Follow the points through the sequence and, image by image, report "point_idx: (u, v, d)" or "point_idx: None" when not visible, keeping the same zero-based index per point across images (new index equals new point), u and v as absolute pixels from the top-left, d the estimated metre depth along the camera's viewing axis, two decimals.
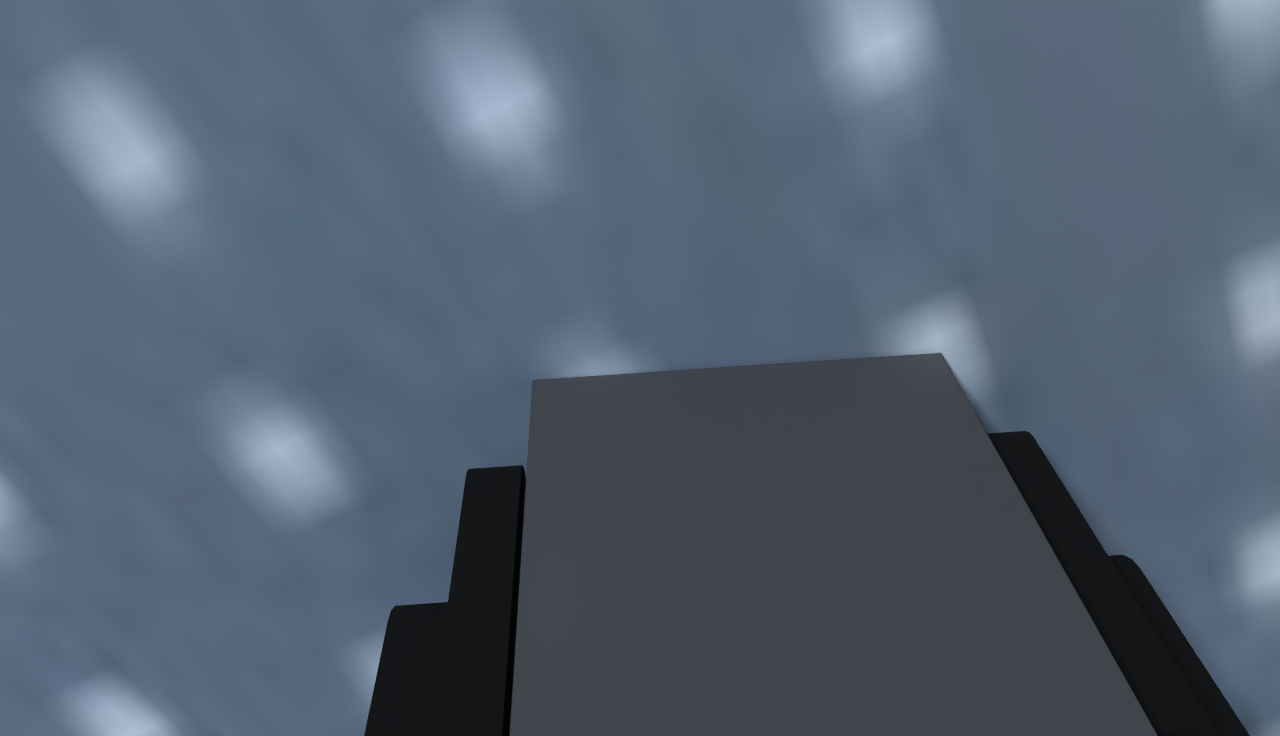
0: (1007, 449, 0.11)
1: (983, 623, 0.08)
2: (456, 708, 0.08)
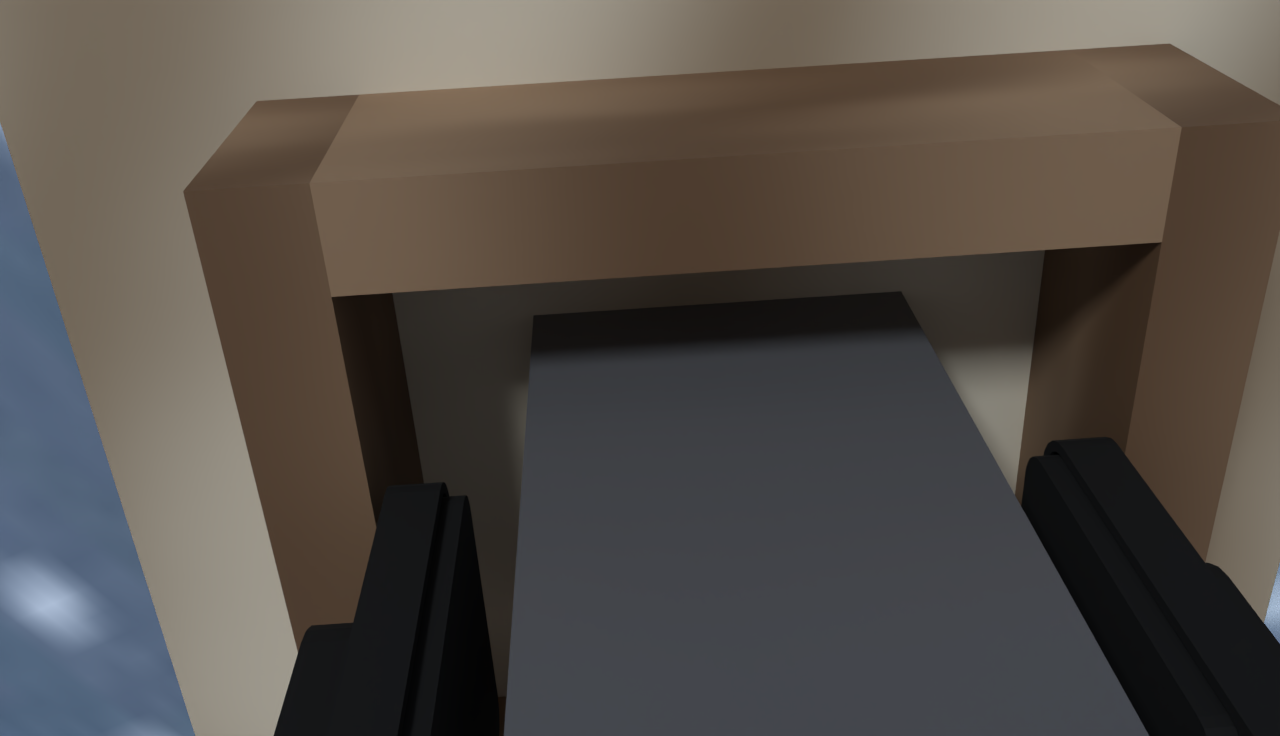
0: (1091, 456, 0.11)
1: (922, 502, 0.10)
2: (348, 735, 0.08)
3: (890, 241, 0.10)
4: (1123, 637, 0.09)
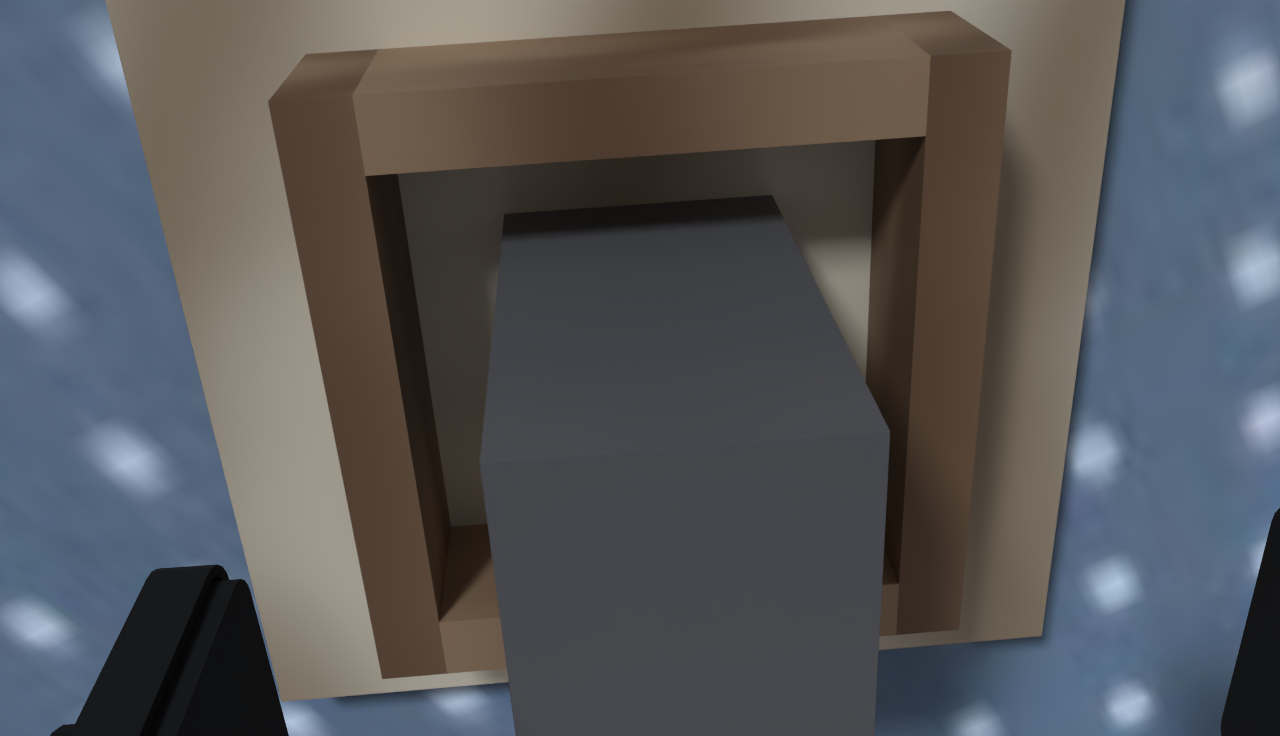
0: None
1: (762, 304, 0.14)
2: None
3: (742, 135, 0.15)
4: None
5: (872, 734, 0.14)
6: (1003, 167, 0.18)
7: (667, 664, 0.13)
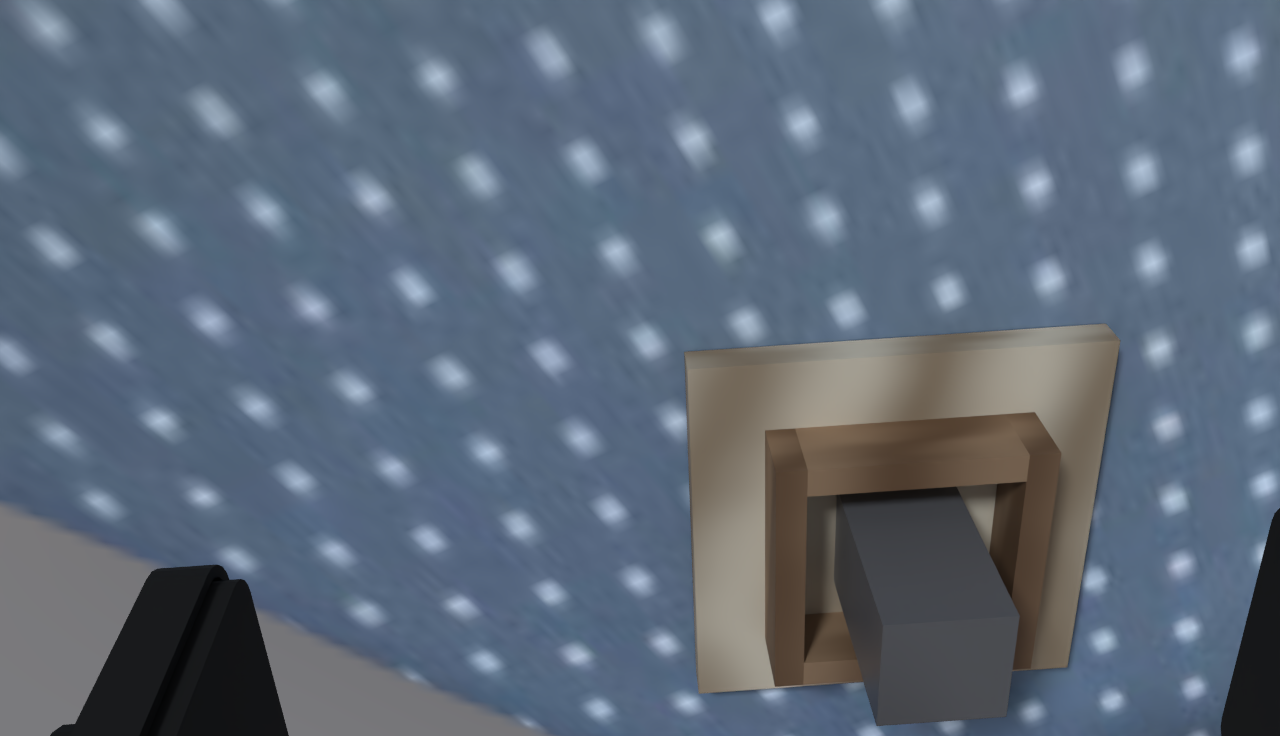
0: None
1: (963, 551, 0.38)
2: None
3: (954, 482, 0.38)
4: None
5: (1005, 716, 0.37)
6: None
7: (935, 690, 0.36)
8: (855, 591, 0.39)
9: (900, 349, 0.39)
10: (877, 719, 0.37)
